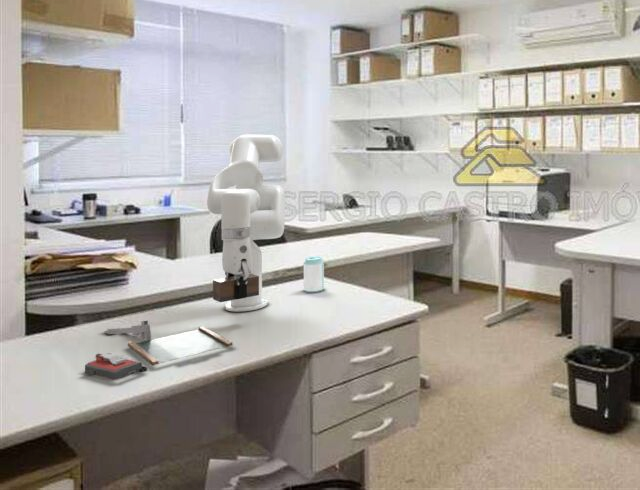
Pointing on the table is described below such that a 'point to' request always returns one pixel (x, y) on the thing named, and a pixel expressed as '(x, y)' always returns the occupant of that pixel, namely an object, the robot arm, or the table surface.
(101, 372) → the toy chainsaw
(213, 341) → the chalkboard
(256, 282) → the eraser
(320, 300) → the table surface
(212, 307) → the table surface
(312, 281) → the can
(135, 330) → the caliper
